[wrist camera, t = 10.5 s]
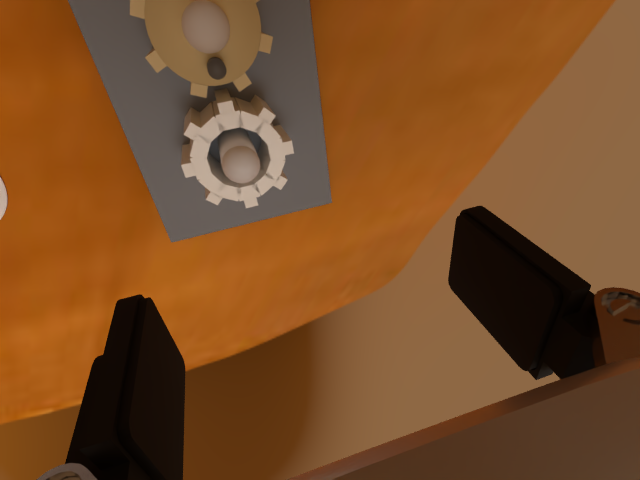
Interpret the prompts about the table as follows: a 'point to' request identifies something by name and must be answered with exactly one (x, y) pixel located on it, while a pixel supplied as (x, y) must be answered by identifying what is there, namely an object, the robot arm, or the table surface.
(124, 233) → the table surface
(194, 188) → the gear board
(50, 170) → the table surface
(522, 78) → the table surface
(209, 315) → the table surface
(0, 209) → the teacup and saucer
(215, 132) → the gear
